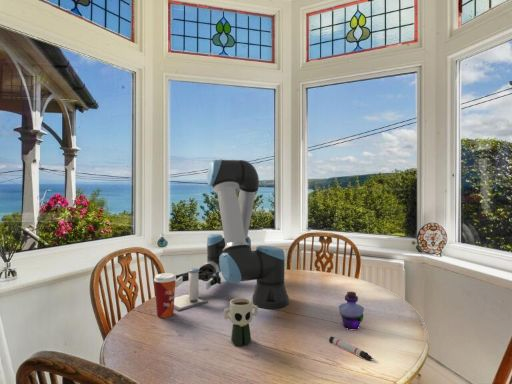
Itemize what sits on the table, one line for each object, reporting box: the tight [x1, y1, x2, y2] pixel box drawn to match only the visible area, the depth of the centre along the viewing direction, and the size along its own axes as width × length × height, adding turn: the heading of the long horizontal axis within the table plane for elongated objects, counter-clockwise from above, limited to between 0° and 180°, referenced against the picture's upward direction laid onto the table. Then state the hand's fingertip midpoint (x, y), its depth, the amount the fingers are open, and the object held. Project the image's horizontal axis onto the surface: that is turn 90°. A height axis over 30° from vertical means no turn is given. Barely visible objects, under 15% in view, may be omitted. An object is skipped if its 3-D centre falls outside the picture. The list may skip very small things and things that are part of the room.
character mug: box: [223, 297, 259, 346], centre depth 106 cm, size 11×7×13 cm, turn 106°
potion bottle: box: [338, 291, 365, 330], centre depth 117 cm, size 9×9×12 cm
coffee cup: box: [153, 272, 176, 319], centre depth 128 cm, size 8×8×15 cm
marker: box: [328, 336, 374, 360], centre depth 100 cm, size 15×2×2 cm, turn 37°
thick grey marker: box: [187, 267, 200, 303], centre depth 140 cm, size 4×4×14 cm
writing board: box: [174, 292, 209, 312], centre depth 141 cm, size 14×14×1 cm
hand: (190, 285), depth 137 cm, fingers open, 13 cm apart
